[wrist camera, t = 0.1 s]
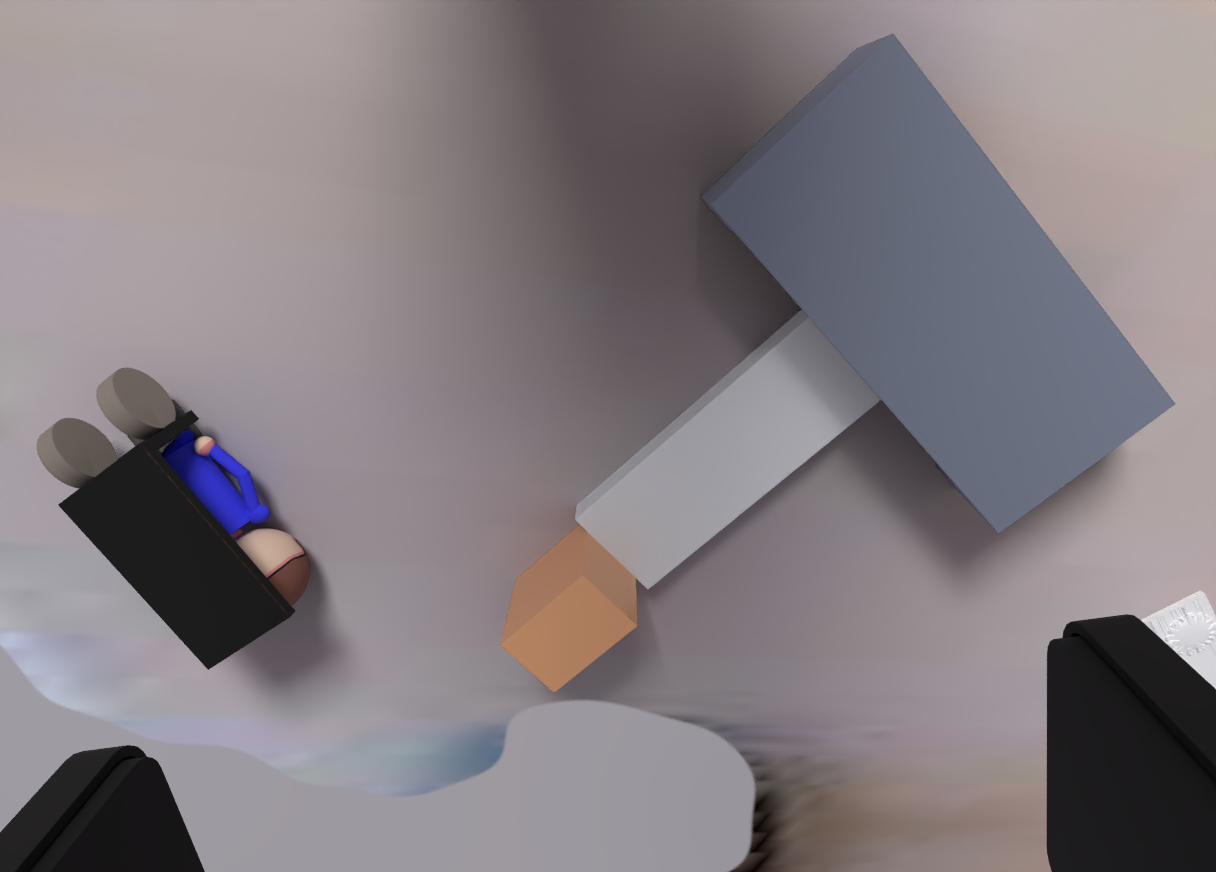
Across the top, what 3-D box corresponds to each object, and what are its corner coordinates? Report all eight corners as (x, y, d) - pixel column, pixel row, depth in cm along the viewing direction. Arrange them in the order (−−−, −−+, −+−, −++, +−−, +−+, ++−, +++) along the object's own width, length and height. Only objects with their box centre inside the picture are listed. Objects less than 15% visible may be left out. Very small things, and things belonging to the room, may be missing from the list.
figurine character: (100, 416, 49) (267, 616, 51) (-5, 450, 41) (197, 683, 44) (182, 349, 47) (351, 559, 50) (89, 372, 40) (292, 617, 42)
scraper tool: (504, 567, 50) (486, 632, 43) (807, 304, 44) (839, 332, 38) (574, 631, 51) (567, 704, 45) (876, 384, 46) (919, 424, 39)
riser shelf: (700, 196, 43) (711, 204, 37) (857, 48, 40) (893, 33, 35) (956, 489, 48) (998, 533, 42) (1109, 372, 45) (1175, 403, 40)
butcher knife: (1205, 792, 55) (1216, 805, 54) (1115, 624, 51) (1125, 634, 50) (1283, 759, 54) (1296, 772, 53) (1198, 585, 50) (1210, 594, 49)
